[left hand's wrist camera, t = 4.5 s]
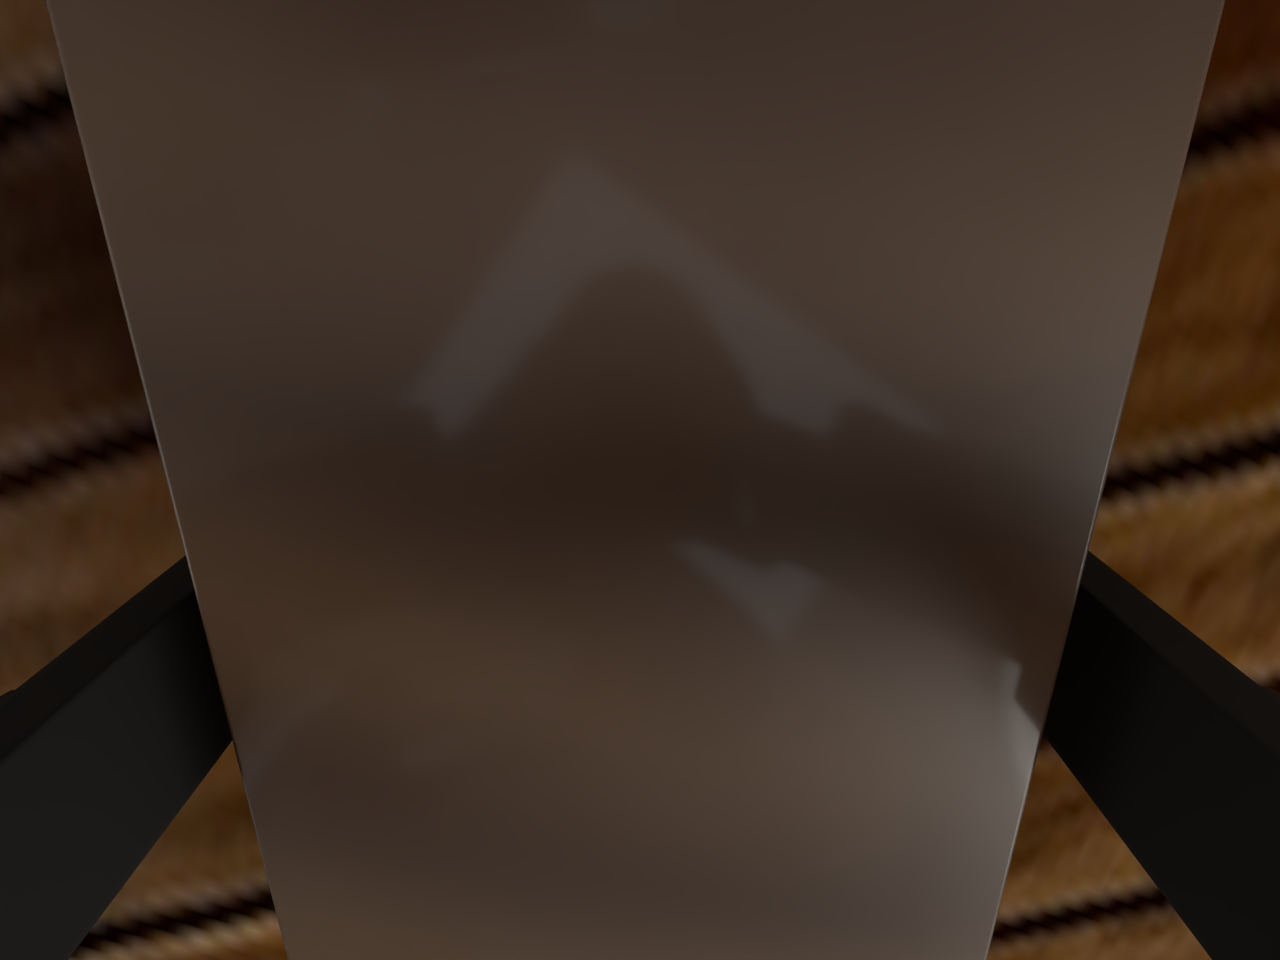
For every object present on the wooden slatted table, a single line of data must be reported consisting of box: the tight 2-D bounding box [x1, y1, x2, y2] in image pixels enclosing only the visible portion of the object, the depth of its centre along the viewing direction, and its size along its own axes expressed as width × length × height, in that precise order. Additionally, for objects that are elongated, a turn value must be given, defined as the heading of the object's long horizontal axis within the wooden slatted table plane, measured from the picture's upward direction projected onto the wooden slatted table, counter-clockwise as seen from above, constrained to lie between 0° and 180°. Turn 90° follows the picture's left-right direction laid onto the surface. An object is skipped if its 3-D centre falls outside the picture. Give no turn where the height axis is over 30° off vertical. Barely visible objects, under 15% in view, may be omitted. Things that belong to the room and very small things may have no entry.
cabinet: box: [45, 0, 1225, 960], centre depth 13 cm, size 18×10×12 cm, turn 0°
